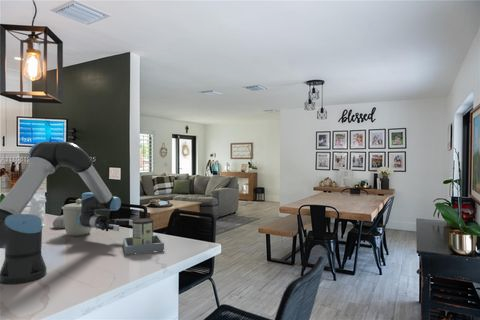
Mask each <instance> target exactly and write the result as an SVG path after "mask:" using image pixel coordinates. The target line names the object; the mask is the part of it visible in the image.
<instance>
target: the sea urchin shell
mask: <svg viewBox="0 0 480 320" xmlns="http://www.w3.org/2000/svg"><path fill="white" fill-rule="evenodd" d="M52 226H53V228H55V229H65V223H64V214H61V215H59V216H57V217H56V218H55V219H54V220H53V221H52Z"/></svg>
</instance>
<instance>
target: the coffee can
mask: <svg viewBox="0 0 480 320" xmlns="http://www.w3.org/2000/svg"><path fill="white" fill-rule="evenodd" d="M132 222H133V226H132V237H133V245H143V244H154V243H153V235H154V219H153V218H149V217H148V218H147V217H144V218H142V217H140V218H136V219H135V218H134V219H133V220H132ZM133 245H132V246H133Z"/></svg>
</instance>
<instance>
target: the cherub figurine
mask: <svg viewBox="0 0 480 320" xmlns="http://www.w3.org/2000/svg"><path fill="white" fill-rule="evenodd" d="M29 202H30V203H31V204H30V206H29V210H28V214H31V215H36V216H38V217H40V219H41V223H42V228H44V227H45V224H44V223H45V222H44V220H45V215H44V213H45V209H44V205H45V203H47V198H46V196H45V195H41V194H40V195H38V196H35V195H34V196H33V197H32V199H31V200H30V201H29Z"/></svg>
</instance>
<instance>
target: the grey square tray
mask: <svg viewBox="0 0 480 320" xmlns="http://www.w3.org/2000/svg"><path fill="white" fill-rule="evenodd" d="M156 242H157V243H156ZM128 245H129V246H128ZM122 247H123V250H124V255H125V256H128V255H127V254H132V255H136V254H135V253H141V254H146V253H145V252H151V253H155V252H154V251H161V252H164V251H165V242H164V241H163V240H162V238H161V237H160V235H159V234H155V235H154V234H153V244H143V245H133V236H131V237H123V238H122ZM163 250H164V251H163Z"/></svg>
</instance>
